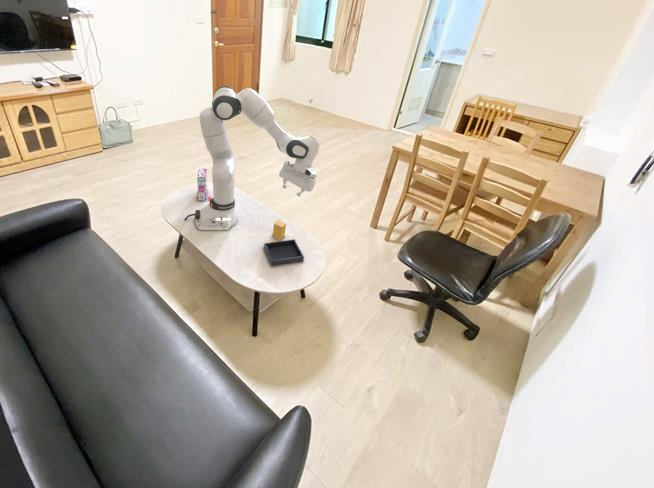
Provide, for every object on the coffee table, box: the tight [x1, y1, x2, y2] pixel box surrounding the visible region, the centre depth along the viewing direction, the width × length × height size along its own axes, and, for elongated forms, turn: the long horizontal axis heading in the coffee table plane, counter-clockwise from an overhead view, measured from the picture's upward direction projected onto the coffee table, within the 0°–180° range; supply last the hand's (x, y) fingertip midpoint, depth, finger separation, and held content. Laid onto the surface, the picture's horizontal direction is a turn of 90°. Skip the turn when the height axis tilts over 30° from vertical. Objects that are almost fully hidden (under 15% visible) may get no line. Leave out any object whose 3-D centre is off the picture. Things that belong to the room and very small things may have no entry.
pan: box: [263, 238, 305, 267], centre depth 166 cm, size 16×13×4 cm
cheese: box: [272, 220, 287, 241], centre depth 176 cm, size 5×4×9 cm
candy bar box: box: [196, 168, 208, 202], centre depth 199 cm, size 11×5×16 cm, turn 5°
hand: (291, 191), depth 174 cm, fingers open, 8 cm apart
